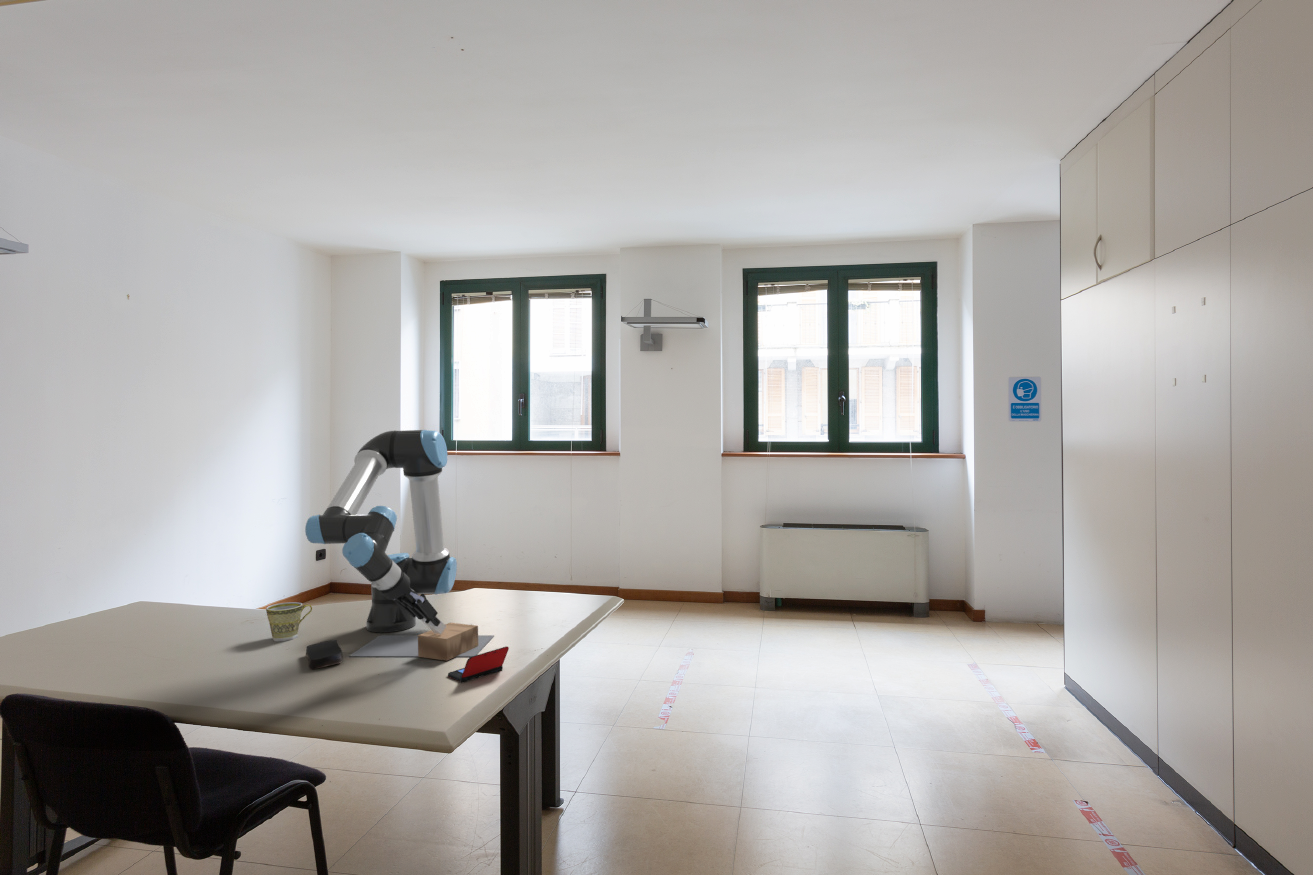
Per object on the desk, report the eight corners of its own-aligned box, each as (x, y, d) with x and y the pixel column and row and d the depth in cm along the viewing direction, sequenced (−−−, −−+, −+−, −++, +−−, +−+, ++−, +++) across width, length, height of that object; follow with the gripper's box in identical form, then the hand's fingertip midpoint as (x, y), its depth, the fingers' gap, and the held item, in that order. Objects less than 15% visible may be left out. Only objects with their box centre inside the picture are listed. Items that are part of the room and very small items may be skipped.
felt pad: (379, 636, 224) (379, 635, 224) (494, 636, 222) (494, 635, 222) (349, 656, 204) (349, 655, 204) (474, 657, 202) (474, 656, 202)
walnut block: (418, 656, 202) (450, 642, 215) (447, 660, 198) (478, 646, 211) (417, 635, 202) (450, 622, 215) (446, 639, 198) (477, 625, 211)
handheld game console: (487, 665, 196) (486, 637, 196) (510, 673, 189) (510, 645, 189) (445, 677, 187) (445, 648, 187) (469, 687, 179) (468, 657, 179)
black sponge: (344, 666, 197) (343, 653, 197) (309, 672, 192) (309, 658, 192) (337, 651, 211) (336, 638, 211) (304, 656, 207) (304, 643, 207)
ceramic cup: (271, 645, 216) (270, 611, 216) (263, 638, 224) (262, 606, 224) (317, 636, 225) (316, 604, 225) (307, 629, 232) (307, 598, 232)
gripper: (364, 588, 191) (416, 637, 205) (398, 594, 183) (450, 645, 197) (381, 566, 196) (431, 615, 209) (415, 570, 188) (465, 621, 202)
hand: (440, 629), depth 203 cm, fingers closed, pressing on walnut block
